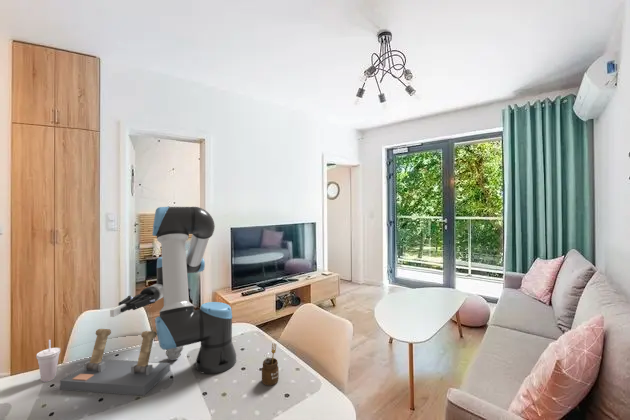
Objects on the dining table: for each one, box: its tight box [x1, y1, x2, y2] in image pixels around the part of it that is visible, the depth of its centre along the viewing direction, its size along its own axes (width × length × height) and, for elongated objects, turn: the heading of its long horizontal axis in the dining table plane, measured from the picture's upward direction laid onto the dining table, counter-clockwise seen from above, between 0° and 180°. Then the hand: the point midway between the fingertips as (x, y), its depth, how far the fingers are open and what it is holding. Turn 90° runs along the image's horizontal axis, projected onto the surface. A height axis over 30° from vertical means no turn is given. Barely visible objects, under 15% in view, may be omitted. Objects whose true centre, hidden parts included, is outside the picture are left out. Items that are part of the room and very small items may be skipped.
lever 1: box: [87, 328, 112, 370], centre depth 104 cm, size 5×2×13 cm, turn 84°
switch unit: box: [59, 358, 171, 396], centre depth 102 cm, size 30×14×6 cm, turn 85°
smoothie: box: [35, 339, 61, 383], centre depth 102 cm, size 6×6×14 cm
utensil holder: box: [261, 342, 280, 386], centre depth 101 cm, size 6×6×12 cm
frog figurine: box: [165, 346, 184, 361], centre depth 115 cm, size 6×7×7 cm
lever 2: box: [134, 330, 157, 373], centre depth 103 cm, size 5×2×13 cm, turn 85°
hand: (112, 313), depth 111 cm, fingers closed
